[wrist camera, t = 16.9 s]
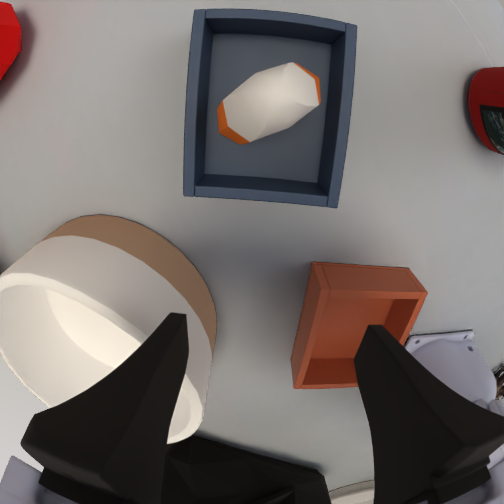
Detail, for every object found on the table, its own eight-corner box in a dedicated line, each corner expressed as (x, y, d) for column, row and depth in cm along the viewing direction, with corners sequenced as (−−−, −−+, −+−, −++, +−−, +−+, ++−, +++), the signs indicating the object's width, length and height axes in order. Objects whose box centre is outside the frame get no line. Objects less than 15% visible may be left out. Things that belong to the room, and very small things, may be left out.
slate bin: (339, 39, 13) (357, 25, 10) (323, 191, 18) (337, 208, 15) (205, 27, 13) (193, 9, 10) (196, 181, 17) (183, 196, 14)
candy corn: (236, 152, 16) (218, 184, 9) (208, 111, 15) (168, 109, 8) (324, 104, 15) (378, 98, 8) (298, 61, 14) (332, 21, 6)
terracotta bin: (408, 267, 20) (428, 292, 17) (371, 358, 25) (381, 384, 21) (311, 261, 20) (320, 288, 17) (290, 359, 24) (293, 389, 21)
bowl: (94, 164, 17) (11, 204, 9) (263, 322, 22) (264, 412, 15) (23, 293, 22) (-22, 344, 15) (145, 393, 28) (126, 455, 20)
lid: (397, 481, 51) (399, 490, 48) (329, 501, 55) (330, 510, 52) (395, 470, 44) (397, 480, 41) (312, 493, 48) (313, 503, 46)
